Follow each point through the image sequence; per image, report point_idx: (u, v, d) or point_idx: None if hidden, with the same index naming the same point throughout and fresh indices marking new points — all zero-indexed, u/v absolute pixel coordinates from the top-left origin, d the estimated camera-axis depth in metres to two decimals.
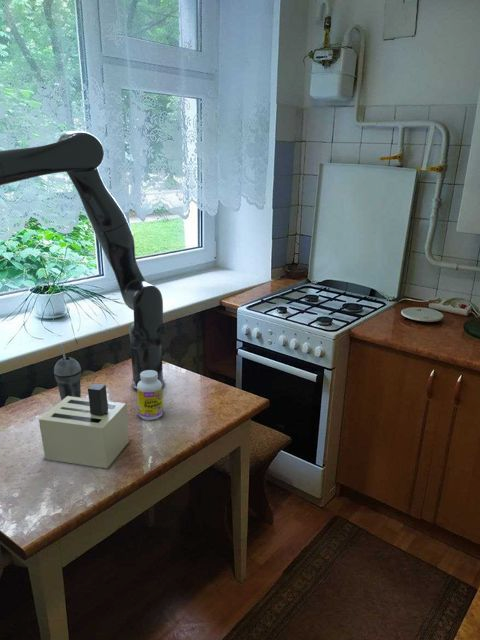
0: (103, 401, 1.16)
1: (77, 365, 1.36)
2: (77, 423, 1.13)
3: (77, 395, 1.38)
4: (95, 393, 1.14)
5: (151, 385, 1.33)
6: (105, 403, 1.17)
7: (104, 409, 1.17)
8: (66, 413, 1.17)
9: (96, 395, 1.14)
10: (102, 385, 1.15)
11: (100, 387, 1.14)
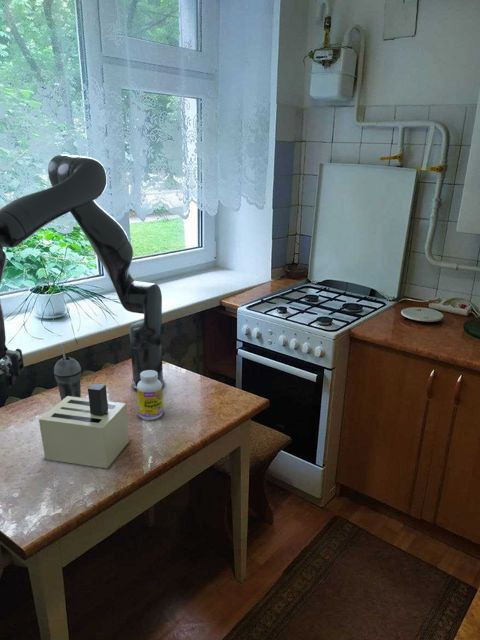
0: (103, 401, 1.16)
1: (77, 365, 1.36)
2: (77, 423, 1.13)
3: (77, 395, 1.38)
4: (95, 393, 1.14)
5: (151, 385, 1.33)
6: (105, 403, 1.17)
7: (104, 409, 1.17)
8: (66, 413, 1.17)
9: (96, 395, 1.14)
10: (102, 385, 1.15)
11: (100, 387, 1.14)
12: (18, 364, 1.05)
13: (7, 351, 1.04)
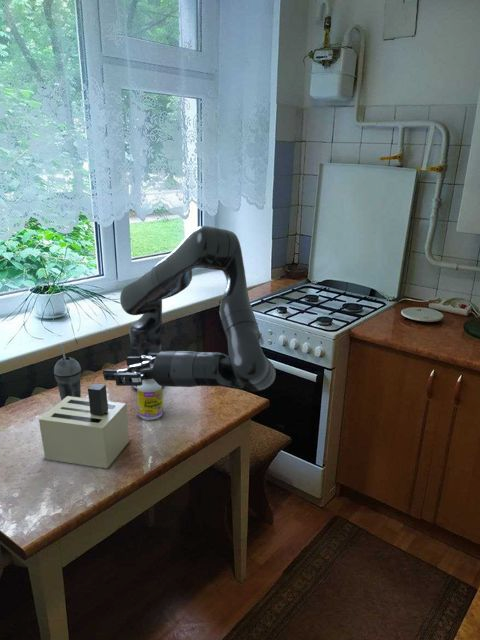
0: (103, 401, 1.16)
1: (77, 365, 1.36)
2: (77, 423, 1.13)
3: (77, 395, 1.38)
4: (95, 393, 1.14)
5: (151, 385, 1.33)
6: (105, 403, 1.17)
7: (104, 409, 1.17)
8: (66, 413, 1.17)
9: (96, 395, 1.14)
10: (102, 385, 1.15)
11: (100, 387, 1.14)
12: None
13: None
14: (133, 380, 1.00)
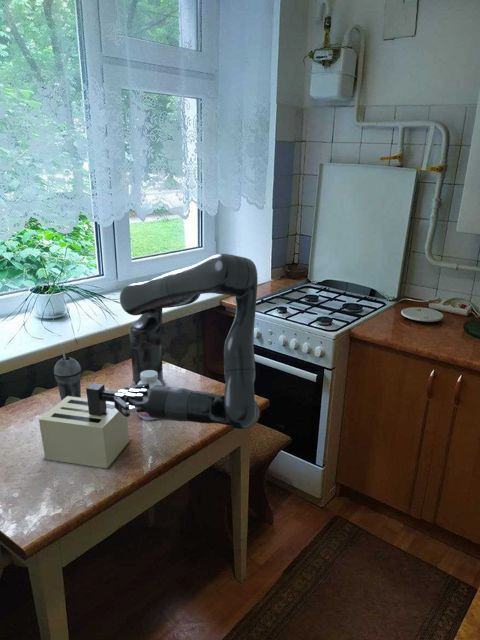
0: (102, 401, 1.16)
1: (77, 365, 1.36)
2: (77, 423, 1.13)
3: (77, 395, 1.38)
4: (94, 393, 1.14)
5: (151, 385, 1.33)
6: (103, 403, 1.17)
7: (103, 409, 1.17)
8: (66, 413, 1.17)
9: (94, 395, 1.14)
10: (100, 385, 1.16)
11: (98, 387, 1.14)
12: None
13: None
14: (122, 410, 1.09)
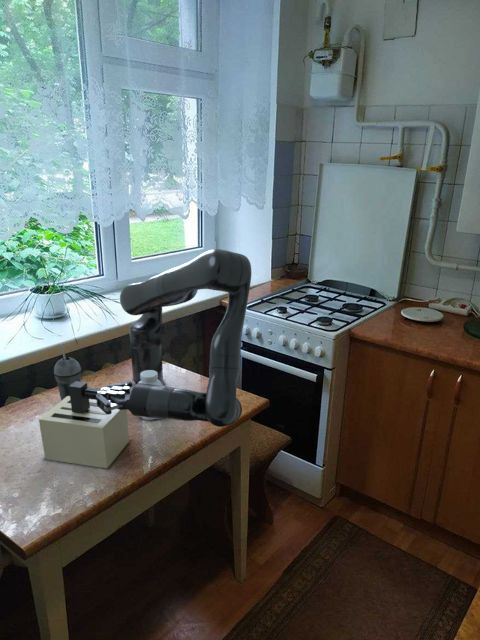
0: (84, 399, 1.17)
1: (77, 365, 1.36)
2: (77, 423, 1.13)
3: None
4: (76, 391, 1.15)
5: None
6: (86, 401, 1.17)
7: (86, 406, 1.17)
8: (66, 413, 1.17)
9: (77, 393, 1.15)
10: (83, 383, 1.16)
11: (81, 385, 1.15)
12: None
13: None
14: (104, 407, 1.10)
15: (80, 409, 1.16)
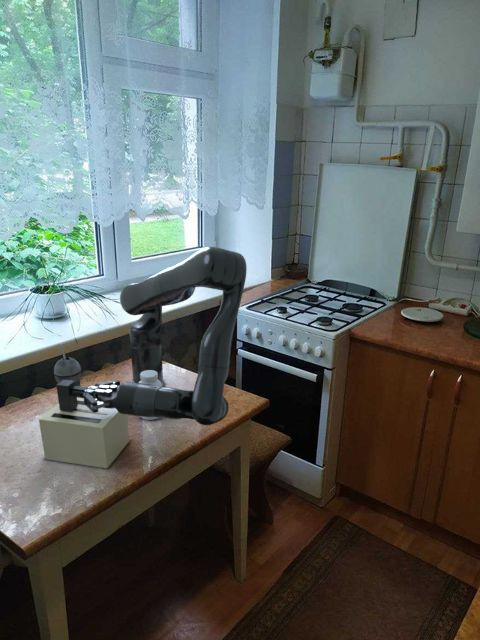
0: (72, 397, 1.17)
1: (77, 365, 1.36)
2: (77, 423, 1.13)
3: None
4: (64, 389, 1.15)
5: None
6: (74, 399, 1.18)
7: (73, 405, 1.18)
8: (66, 413, 1.17)
9: (64, 391, 1.15)
10: (71, 381, 1.17)
11: (68, 383, 1.16)
12: None
13: None
14: (90, 406, 1.10)
15: (68, 407, 1.17)
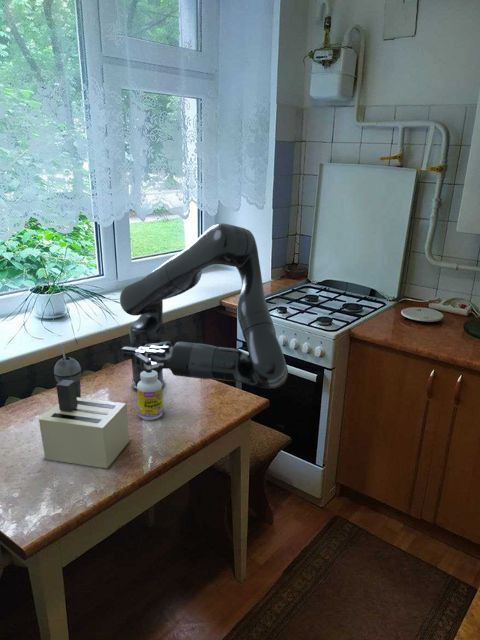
0: (72, 397, 1.17)
1: (77, 365, 1.36)
2: (77, 423, 1.13)
3: (77, 395, 1.38)
4: (64, 389, 1.15)
5: (151, 385, 1.33)
6: (74, 399, 1.18)
7: (73, 405, 1.18)
8: (66, 413, 1.17)
9: (64, 391, 1.15)
10: (71, 381, 1.17)
11: (68, 383, 1.16)
12: None
13: None
14: (144, 366, 1.04)
15: (68, 407, 1.17)
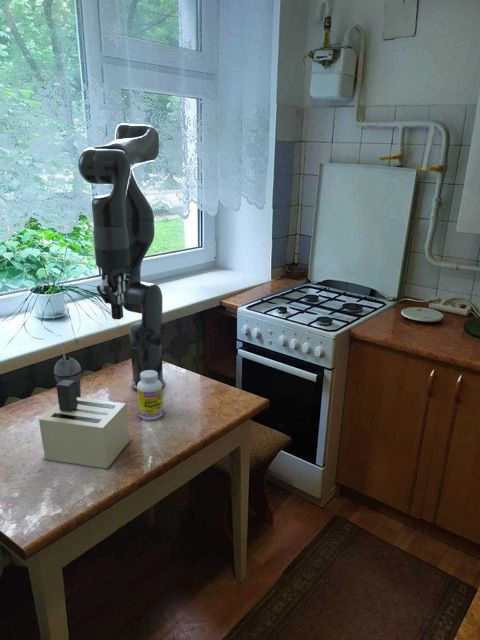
0: (72, 397, 1.17)
1: (77, 365, 1.36)
2: (77, 423, 1.13)
3: (77, 395, 1.38)
4: (64, 389, 1.15)
5: (151, 385, 1.33)
6: (74, 399, 1.18)
7: (73, 405, 1.18)
8: (66, 413, 1.17)
9: (64, 391, 1.15)
10: (71, 381, 1.17)
11: (68, 383, 1.16)
12: None
13: None
14: (103, 292, 1.10)
15: (68, 407, 1.17)
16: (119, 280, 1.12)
